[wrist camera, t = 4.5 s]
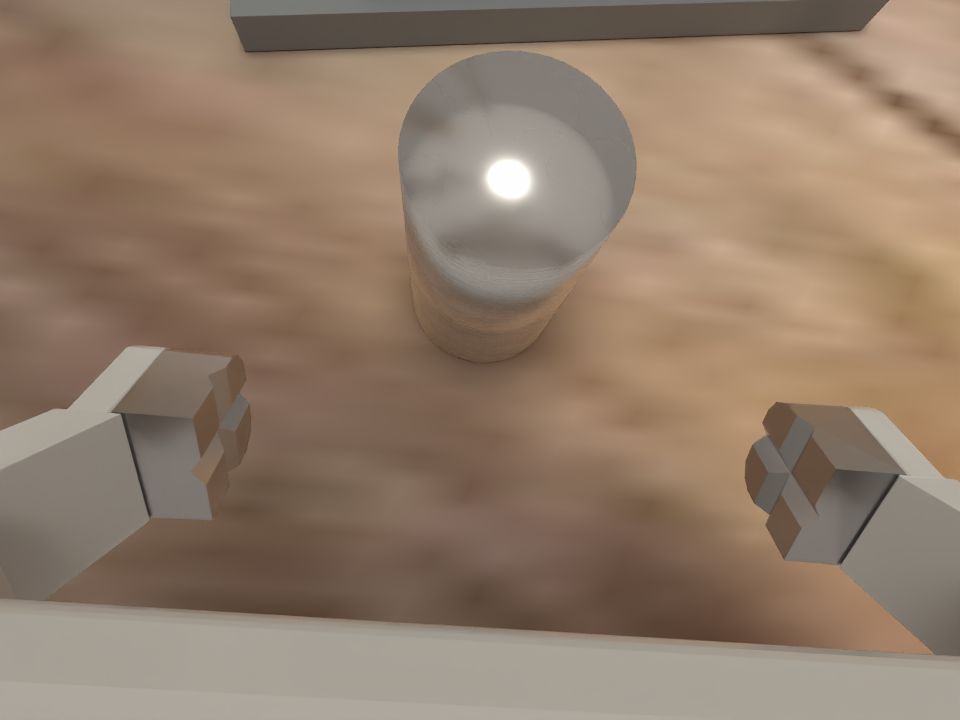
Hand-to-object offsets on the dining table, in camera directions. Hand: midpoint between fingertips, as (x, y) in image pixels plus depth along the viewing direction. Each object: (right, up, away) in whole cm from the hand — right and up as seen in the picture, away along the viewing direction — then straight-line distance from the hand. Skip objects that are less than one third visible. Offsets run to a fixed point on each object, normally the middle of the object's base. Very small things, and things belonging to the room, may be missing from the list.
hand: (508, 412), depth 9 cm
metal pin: (0, +3, +9) cm, 10 cm away
